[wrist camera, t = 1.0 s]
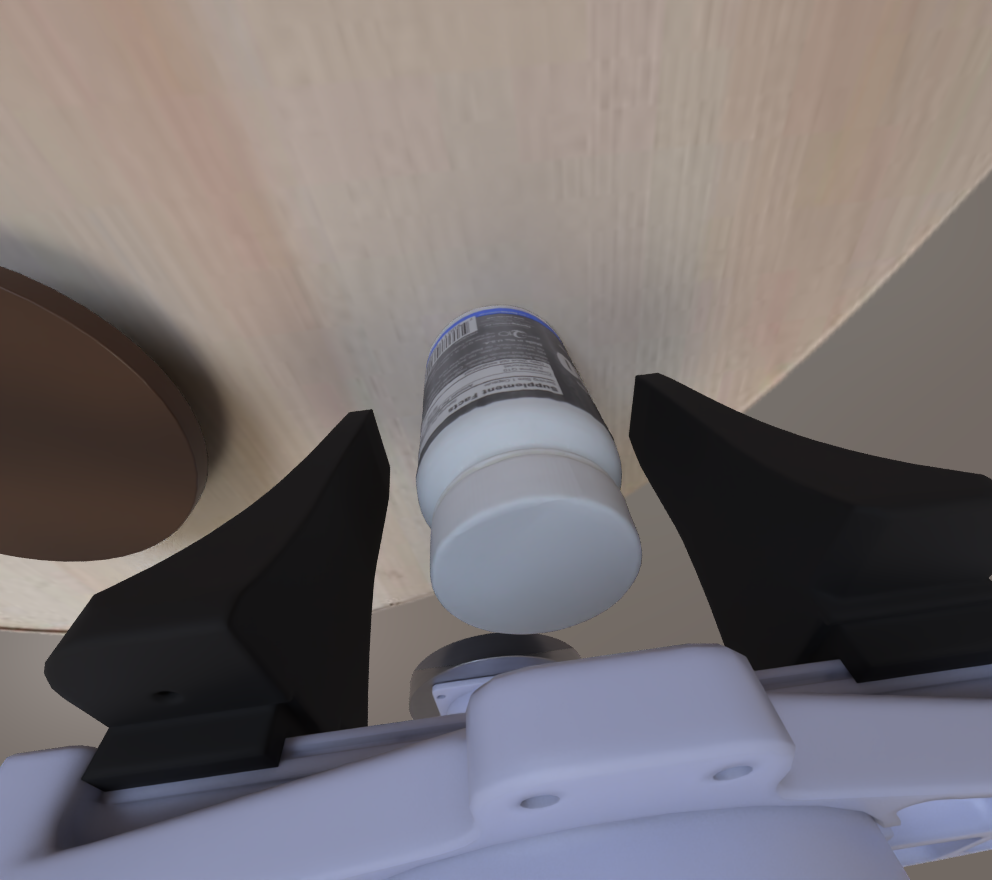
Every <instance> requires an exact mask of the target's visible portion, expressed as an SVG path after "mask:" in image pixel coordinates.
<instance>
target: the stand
mask: <svg viewBox="0 0 992 880" xmlns="http://www.w3.org/2000/svg"><path fill="white" fill-rule="evenodd" d="M207 475H208V455H207V450H206V444H205V440H204V437H203V434H202V431H201V428H200V425H199V423H198V421H197V419H196V417H195V415H194V413H193V411H192V410H191V408H190V406H189V404H188V403H187V401H186V400H185V398H184V397H183V395H182V394H181V392H180V391H179V390H178V388H177V387H176V385H175V384H174V383H173V382H172V381H171V380H170V378H169V377H168V376H167V375H166V374H165V373H164V371H163V370H162V369H161V368H160V367H159V366H158V365H157V364H156V363H155V362H154V361H153V360H152V359H151V358H150V357H149V356H148V355H147V354H146V353H145V352H144V351H143V350H142V349H141V348H140V347H139V346H137V345H136V344H135V343H134V342H132V341H131V340H130V339H129V338H127V337H126V336H125V335H124V334H122V333H121V332H120V331H119V330H117V329H116V328H115V327H114V326H112V325H111V324H109V323H108V322H106V321H105V320H103V319H102V318H101V317H99V316H98V315H96V314H95V313H93V312H92V311H90V310H89V309H87V308H86V307H84V306H82V305H80V304H79V303H77V302H75V301H73V300H72V299H70V298H68V297H66V296H65V295H63V294H61V293H59V292H58V291H56V290H54V289H52V288H50V287H48V286H45V285H43V284H41V283H39V282H37V281H35V280H33V279H30V278H28V277H26V276H24V275H22V274H20V273H17V272H14V271H12V270H9V269H6V268H4V267H1V266H0V554H4V555H9V556H15V557H21V558H29V559H37V560H48V561H64V562H67V561H95V560H106V559H112V558H117V557H123V556H127V555H130V554H133V553H137V552H140V551H143V550H145V549H147V548H150V547H152V546H154V545H156V544H158V543H160V542H161V541H163V540H165V539H166V538H168V537H169V536H171V535H172V534H173V533H174V532H175V531H176V530H177V529H179V528H180V527H181V526H182V524H183V523H184V522H185V520H186V519H187V518H188V516H189V515H190V513H191V512H192V510H193V509H194V507H195V506H196V504H197V502H198V501H199V499H200V497H201V495H202V493H203V490H204V488H205V484H206V480H207Z"/></svg>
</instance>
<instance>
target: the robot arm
mask: <svg viewBox="0 0 992 880" xmlns="http://www.w3.org/2000/svg"><path fill="white" fill-rule="evenodd" d="M629 438H630V441H631V443H632V446H633V449H634V451H635V454H636V456H637V459H638V461H639V464H640V466H641V468H642V470H643V471H644V473H645V475H646V477H647V478H648V480H649V482H650V484H651V485H652V487H653V489H654V491H655V492H656V494H657V496H658V497H659V499H660V501H661V503H662V504H663V506H664V508H665V510H666V511H667V513H668V515H669V517H670V518H671V520H672V522H673V523H674V525H675V527H676V529H677V531H678V533H679V534H680V537H681V538H682V540H683V542H684V545H685V547H686V549H687V552H688V554H689V556H690V559H691V561H692V563H693V566H694V568H695V570H696V573H697V575H698V578H699V580H700V582H701V585H702V587H703V590H704V592H705V595H706V597H707V600H708V602H709V605H710V607H711V610H712V613H713V616H714V618H715V621H716V624H717V626H718V629H719V632H720V634H721V637H722V640H723V643H724V645H725V646H723V645H720V644H681V645H674V646H667V647H660V648H653V649H646V650H639V651H632V652H624V653H618V654H610V655H604V656H596V657H590V658H582V659H575V660H568V661H561V662H554V663H547V664H539V665H532V666H527V667H524V668H520V669H517V670H513V671H509V672H506V673H502V674H498V675H494V676H487V677H480V678H473V679H466V680H459V681H452V682H445V683H438V684H435V685H434V686H433V687H432V695H433V697H434V700H435V702H436V705H437V707H438V710H439V712H440V715H441V716H437V717H430V718H423V719H416V720H409V721H402V722H395V723H388V724H381V725H374V726H368V679H369V678H368V677H369V651H370V632H371V615H372V601H373V588H374V578H375V571H376V565H377V560H378V554H379V549H380V544H381V539H382V533H383V528H384V523H385V517H386V512H387V506H388V500H389V487H390V465H389V462H388V459H387V455H386V452H385V449H384V446H383V443H382V439H381V436H380V433H379V430H378V426H377V423H376V420H375V417H374V413H373V410H372V409H370V410H363V411H355V412H349V413H348V414H347V415H346V416H345V417H344V418H343V419H342V420H341V421H340V422H339V423H338V424H337V425H336V427H335V428H334V429H333V430H332V431H331V432H330V433H329V434H328V435H327V436H326V437H325V438H324V439H323V440H322V441H321V443H320V444H319V445H318V446H317V447H316V448H315V449H314V450H313V451H312V452H311V453H310V454H309V455H308V456H307V457H306V458H305V459H304V460H303V461H302V462H301V463H300V464H299V465H297V466H296V467H295V468H294V469H293V470H292V471H291V472H290V473H289V474H288V475H287V476H286V477H285V478H284V479H283V480H281V481H280V482H279V483H278V484H277V485H276V486H275V487H273V488H272V489H271V490H270V491H269V492H267V493H266V494H265V495H263V496H262V497H261V498H260V499H258V500H257V501H256V502H254V503H253V504H252V505H251V506H249V507H248V508H247V509H245V510H244V511H242V512H241V513H239V514H238V515H236V516H235V517H233V518H232V519H230V520H229V521H228V522H226V523H225V524H223V525H222V526H220V527H219V528H217V529H216V530H214V531H213V532H211V533H210V534H208V535H206V536H205V537H203V538H202V539H200V540H198V541H197V542H195V543H193V544H192V545H190V546H188V547H187V548H185V549H183V550H181V551H179V552H178V553H176V554H174V555H172V556H171V557H169V558H167V559H165V560H163V561H161V562H160V563H158V564H156V565H154V566H152V567H150V568H148V569H146V570H144V571H142V572H140V573H138V574H136V575H134V576H132V577H130V578H128V579H126V580H124V581H122V582H120V583H118V584H116V585H114V586H112V587H110V588H108V589H106V590H103V591H101V592H99V593H97V594H95V595H94V596H93V597H92V598H91V600H90V601H89V602H88V604H87V605H86V607H85V608H84V609H83V611H82V612H81V614H80V615H79V616H78V618H77V619H76V620H75V622H74V623H73V625H72V626H71V627H70V629H69V630H68V631H67V633H66V634H65V636H64V637H63V638H62V640H61V641H60V643H59V644H58V645H57V647H56V648H55V650H54V651H53V652H52V654H51V655H50V657H49V658H48V659H47V661H46V662H45V669H44V674H45V676H46V678H47V680H48V682H49V684H50V686H51V688H52V689H53V690H55V691H56V692H57V693H58V694H59V695H60V696H62V697H63V698H64V699H66V700H67V701H69V702H70V703H72V704H73V705H75V706H76V707H78V708H79V709H81V710H83V711H84V712H86V713H87V714H89V715H90V716H92V717H93V718H95V719H96V720H98V721H100V722H101V723H103V724H104V725H106V726H107V727H109V729H108V731H107V733H106V735H105V736H104V738H103V740H102V742H101V744H100V745H99V747H98V748H95V747H90V746H83V745H81V746H66V747H59V748H52V749H45V750H38V751H31V752H24V753H17V754H14V755H11V756H9V757H7V758H6V759H5V761H4V762H3V764H2V765H1V767H0V880H910V878H909V877H908V875H907V873H906V872H905V870H904V868H903V867H906V866H911V865H916V864H921V863H926V862H931V861H936V860H941V859H946V858H951V857H957V856H962V855H967V854H972V853H977V852H981V851H987V850H992V581H991V580H990V579H989V577H990V576H991V575H992V480H991V479H990V478H988V477H986V476H984V475H981V474H974V473H968V472H961V471H955V470H949V469H942V468H936V467H930V466H923V465H917V464H911V463H906V462H901V461H896V460H891V459H887V458H882V457H877V456H872V455H868V454H864V453H860V452H856V451H852V450H848V449H844V448H840V447H836V446H833V445H829V444H826V443H822V442H818V441H815V440H812V439H809V438H806V437H802V436H799V435H796V434H793V433H791V432H788V431H785V430H782V429H779V428H777V427H774V426H771V425H769V424H766V423H763V422H761V421H759V420H756V419H754V418H752V417H749V416H747V415H745V414H742V413H740V412H738V411H736V410H733V409H731V408H729V407H727V406H725V405H723V404H721V403H719V402H717V401H715V400H713V399H711V398H709V397H707V396H705V395H703V394H701V393H699V392H697V391H695V390H693V389H691V388H689V387H687V386H685V385H683V384H681V383H679V382H677V381H675V380H673V379H671V378H669V377H667V376H664V375H662V374H659V373H653V374H645V375H637V376H636V377H635V386H634V395H633V403H632V412H631V421H630V430H629Z"/></svg>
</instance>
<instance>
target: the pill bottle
mask: <svg viewBox="0 0 992 880" xmlns="http://www.w3.org/2000/svg"><path fill="white" fill-rule="evenodd" d="M621 479H622V470H621V461H620V457H619V454H618V451H617V448H616V445H615V442H614V439H613V437H612V435H611V433H610V432H609V430H608V428H607V426H606V424H605V423H604V421H603V419H602V417H601V415H600V413H599V411H598V410H597V408H596V406H595V404H594V403H593V401H592V399H591V397H590V396H589V393H588V391H587V389H586V387H585V386H584V384H583V382H582V380H581V378H580V376H579V374H578V372H577V370H576V368H575V367H574V365H573V363H572V361H571V359H570V357H569V355H568V353H567V351H566V349H565V347H564V345H563V343H562V342H561V340H560V339H559V337H558V335H557V334H556V332H555V331H554V329H553V328H552V327H551V326H550V325H549V324H548V323H547V322H545V321H544V320H543V319H541V318H540V317H538V316H537V315H535V314H533V313H532V312H530V311H528V310H525V309H522V308H519V307H514V306H507V305H494V306H485V307H481V308H477V309H474V310H471V311H469V312H466V313H464V314H462V315H461V316H459V317H457V318H456V319H454V320H453V321H452V322H451V323H449V324H448V325H447V326H446V327H445V328H444V329H443V331H442V332H441V333H440V334H439V336H438V337H437V339H436V340H435V342H434V344H433V346H432V348H431V350H430V353H429V356H428V361H427V366H426V374H425V383H424V399H423V414H422V424H421V436H420V448H419V456H418V469H417V474H416V486H417V494H418V501H419V505H420V508H421V512H422V514H423V516H424V518H425V520H426V522H427V524H428V525H429V527H430V528H431V546H430V577H431V583H432V588H433V590H434V592H435V595H436V597H437V598H438V600H439V601H440V603H441V604H442V605H443V607H444V608H446V609H447V610H448V611H449V612H450V613H451V614H453V615H454V616H455V617H457V618H458V619H460V620H461V621H463V622H465V623H467V624H469V625H472V626H474V627H477V628H480V629H483V630H487V631H491V632H497V633H506V634H537V633H547V632H553V631H558V630H561V629H565V628H567V627H571V626H574V625H577V624H579V623H582V622H585V621H587V620H589V619H591V618H593V617H595V616H597V615H599V614H601V613H602V612H604V611H606V610H607V609H608V608H610V607H611V606H613V605H614V604H615V603H616V602H617V601H619V600H620V599H621V597H622V596H623V595H624V594H625V593H626V592H627V590H628V589H629V588H630V587H631V585H632V584H633V582H634V580H635V579H636V577H637V575H638V573H639V569H640V566H641V561H642V549H641V542H640V538H639V534H638V532H637V530H636V527H635V525H634V522H633V520H632V517H631V515H630V513H629V510H628V507H627V504H626V501H625V499H624V496H623V495H622V493H621V491H620V488H621Z"/></svg>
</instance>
